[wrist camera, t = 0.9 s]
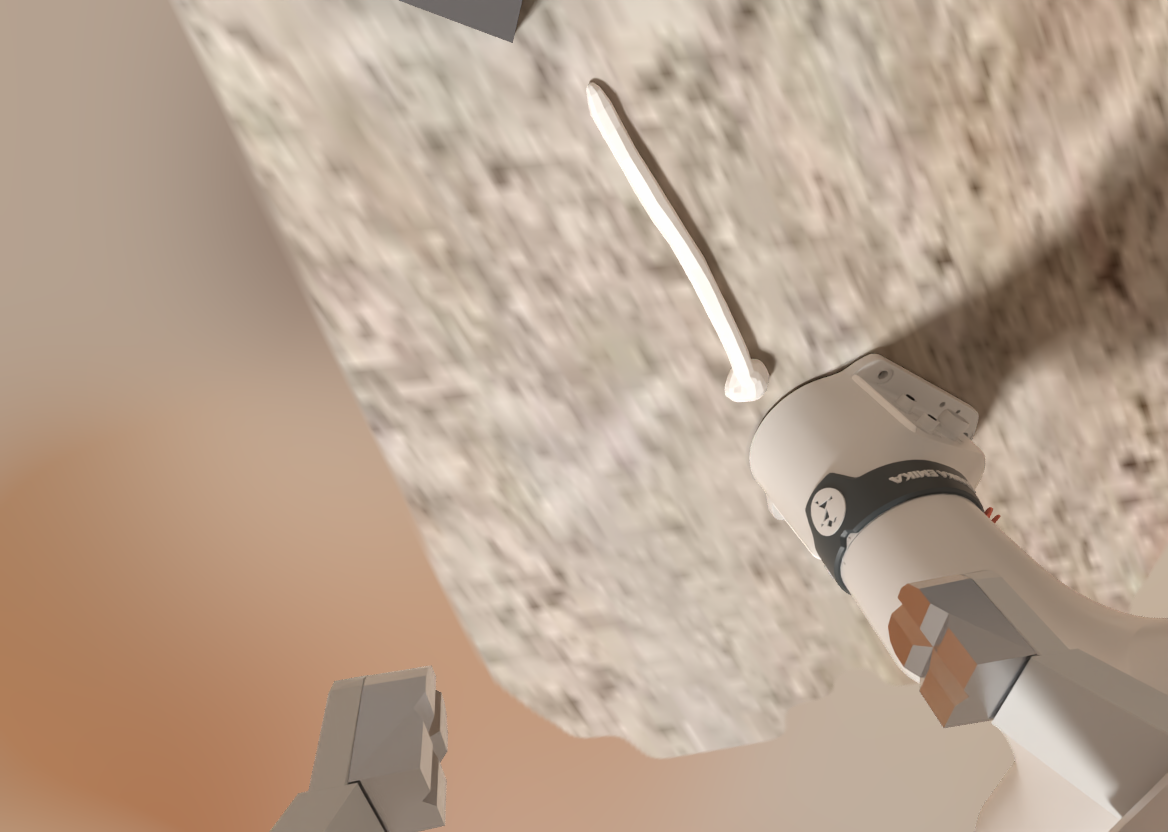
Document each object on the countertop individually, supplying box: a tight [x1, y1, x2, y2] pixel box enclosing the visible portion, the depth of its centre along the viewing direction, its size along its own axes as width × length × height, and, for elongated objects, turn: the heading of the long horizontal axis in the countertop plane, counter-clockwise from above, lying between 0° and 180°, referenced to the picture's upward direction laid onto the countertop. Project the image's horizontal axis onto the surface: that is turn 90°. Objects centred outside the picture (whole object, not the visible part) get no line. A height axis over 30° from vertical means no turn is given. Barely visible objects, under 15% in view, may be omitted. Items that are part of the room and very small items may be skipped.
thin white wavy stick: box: [586, 83, 769, 402], centre depth 45 cm, size 28×4×3 cm, turn 33°
